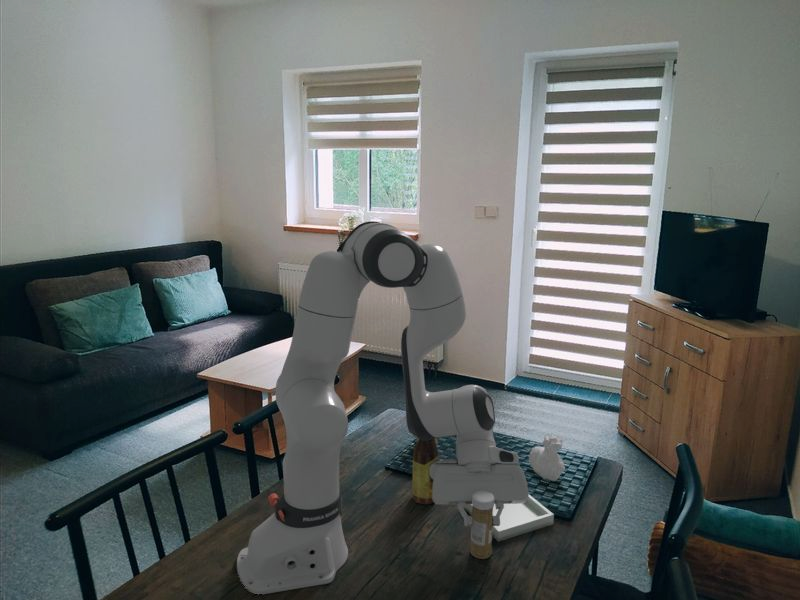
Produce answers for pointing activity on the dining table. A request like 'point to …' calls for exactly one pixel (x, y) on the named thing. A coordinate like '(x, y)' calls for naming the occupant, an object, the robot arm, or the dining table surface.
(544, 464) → the duck figurine
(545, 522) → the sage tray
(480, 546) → the sprinkles bottle
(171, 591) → the dining table surface
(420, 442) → the sauce bottle
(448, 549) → the dining table surface
